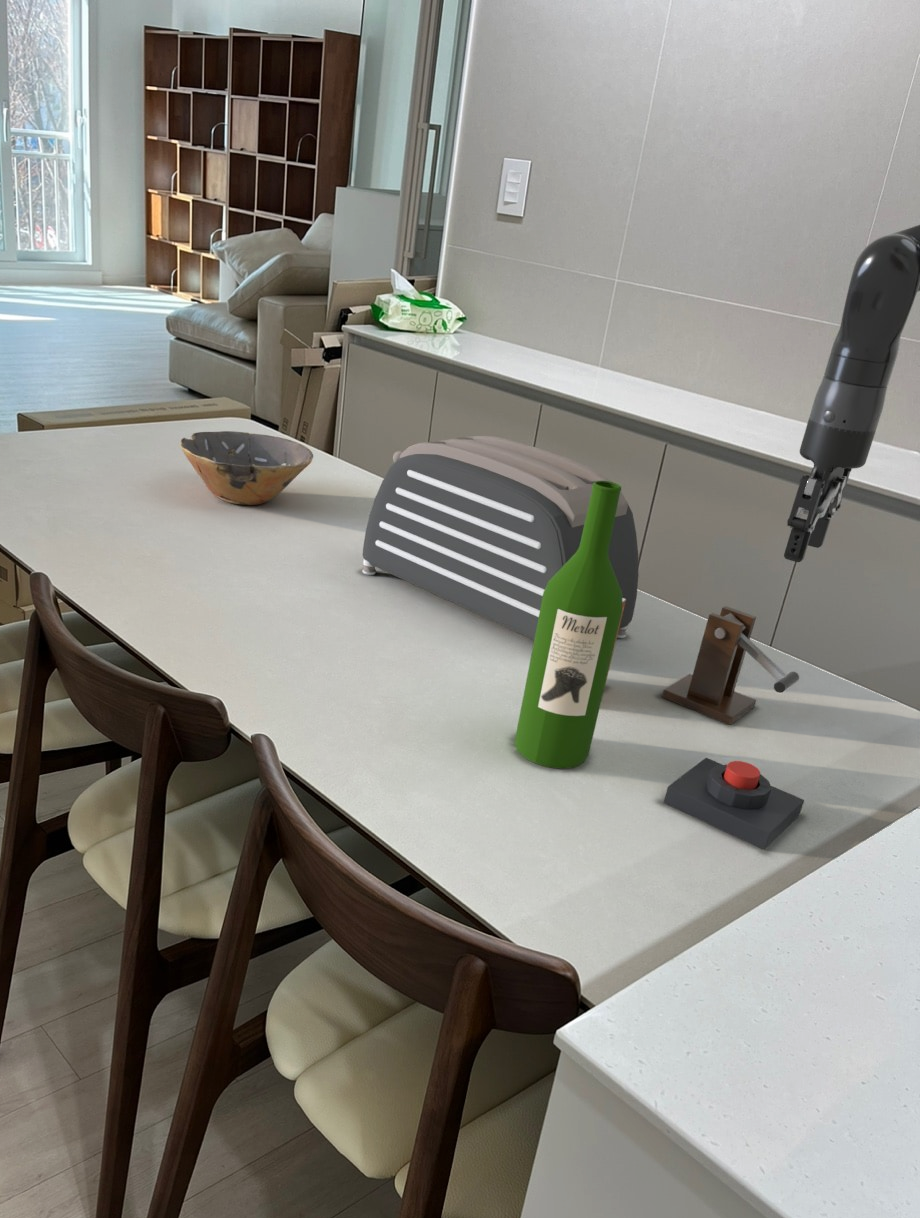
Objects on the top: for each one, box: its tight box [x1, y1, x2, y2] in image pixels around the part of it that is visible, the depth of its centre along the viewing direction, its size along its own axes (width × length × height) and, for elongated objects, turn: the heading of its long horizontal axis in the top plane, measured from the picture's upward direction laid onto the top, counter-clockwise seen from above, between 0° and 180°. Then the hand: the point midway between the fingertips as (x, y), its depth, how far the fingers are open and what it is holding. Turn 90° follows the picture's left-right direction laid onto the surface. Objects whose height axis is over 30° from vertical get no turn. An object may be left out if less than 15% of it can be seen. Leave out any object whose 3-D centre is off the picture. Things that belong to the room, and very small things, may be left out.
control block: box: [663, 757, 805, 850], centre depth 118 cm, size 12×10×4 cm
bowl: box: [179, 430, 314, 506], centre depth 199 cm, size 25×25×10 cm
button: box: [724, 760, 762, 790], centre depth 117 cm, size 4×4×2 cm
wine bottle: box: [514, 481, 622, 769], centre depth 119 cm, size 9×9×32 cm
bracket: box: [661, 605, 757, 726], centre depth 141 cm, size 10×8×13 cm
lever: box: [724, 613, 800, 694], centre depth 137 cm, size 12×5×2 cm, turn 50°
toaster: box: [362, 435, 639, 640], centre depth 163 cm, size 19×45×24 cm, turn 44°
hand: (802, 552), depth 131 cm, fingers open, 8 cm apart
